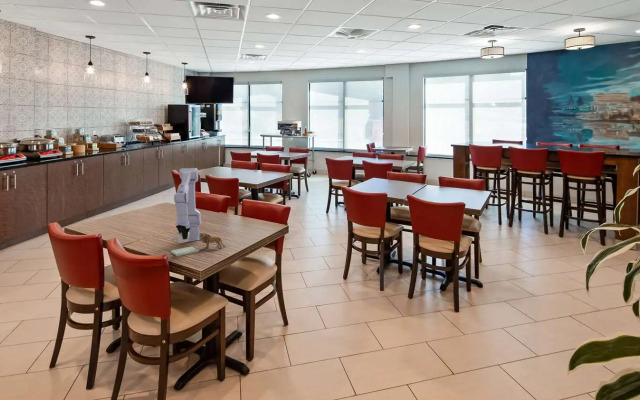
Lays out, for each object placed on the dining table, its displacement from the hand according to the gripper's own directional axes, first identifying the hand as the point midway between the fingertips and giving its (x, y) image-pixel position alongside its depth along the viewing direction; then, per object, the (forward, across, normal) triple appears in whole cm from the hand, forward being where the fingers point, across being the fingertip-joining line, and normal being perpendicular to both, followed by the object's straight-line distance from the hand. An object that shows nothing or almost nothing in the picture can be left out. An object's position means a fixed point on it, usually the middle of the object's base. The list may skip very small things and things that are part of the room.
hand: (183, 238), depth 219 cm
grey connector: (+2, 0, -2) cm, 2 cm away
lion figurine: (+8, +2, +15) cm, 17 cm away
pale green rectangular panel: (+8, 0, 0) cm, 8 cm away
